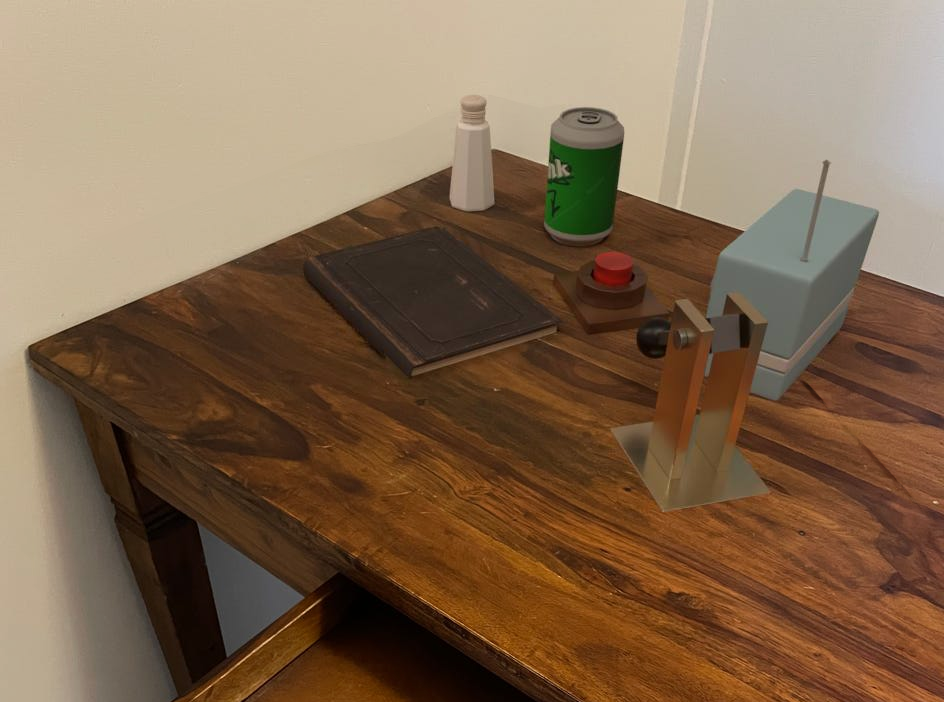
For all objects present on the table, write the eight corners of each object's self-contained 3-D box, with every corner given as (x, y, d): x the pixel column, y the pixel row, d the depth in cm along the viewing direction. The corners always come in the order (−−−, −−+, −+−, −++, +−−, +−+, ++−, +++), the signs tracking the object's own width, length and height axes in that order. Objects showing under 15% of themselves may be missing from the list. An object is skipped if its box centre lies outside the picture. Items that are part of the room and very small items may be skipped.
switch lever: (631, 361, 78) (628, 320, 77) (667, 356, 79) (665, 315, 78) (705, 360, 66) (703, 312, 65) (747, 354, 66) (745, 306, 65)
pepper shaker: (504, 206, 109) (508, 101, 101) (463, 216, 107) (464, 110, 99) (480, 189, 112) (482, 86, 104) (440, 198, 110) (439, 94, 102)
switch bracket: (607, 439, 79) (630, 281, 68) (707, 424, 80) (744, 267, 70) (660, 523, 71) (694, 360, 61) (768, 504, 73) (819, 342, 63)
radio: (752, 307, 94) (807, 84, 79) (840, 335, 90) (915, 107, 76) (679, 379, 85) (727, 142, 70) (774, 412, 81) (844, 171, 67)
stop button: (587, 271, 91) (589, 254, 89) (622, 267, 91) (625, 249, 90) (601, 289, 88) (603, 271, 87) (636, 285, 89) (639, 266, 88)
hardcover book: (440, 245, 102) (440, 224, 100) (560, 343, 89) (562, 320, 87) (304, 280, 97) (301, 258, 95) (410, 389, 83) (409, 366, 82)
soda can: (615, 224, 106) (630, 107, 97) (606, 254, 101) (621, 134, 92) (549, 217, 107) (557, 101, 98) (537, 246, 102) (545, 127, 93)
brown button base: (552, 294, 95) (555, 255, 92) (626, 285, 97) (631, 246, 94) (586, 345, 89) (591, 305, 86) (665, 334, 90) (672, 294, 87)
